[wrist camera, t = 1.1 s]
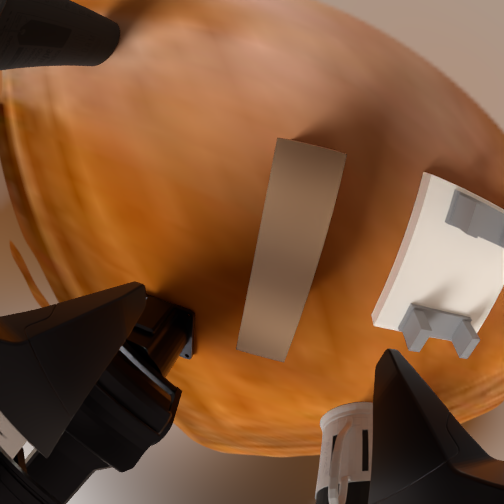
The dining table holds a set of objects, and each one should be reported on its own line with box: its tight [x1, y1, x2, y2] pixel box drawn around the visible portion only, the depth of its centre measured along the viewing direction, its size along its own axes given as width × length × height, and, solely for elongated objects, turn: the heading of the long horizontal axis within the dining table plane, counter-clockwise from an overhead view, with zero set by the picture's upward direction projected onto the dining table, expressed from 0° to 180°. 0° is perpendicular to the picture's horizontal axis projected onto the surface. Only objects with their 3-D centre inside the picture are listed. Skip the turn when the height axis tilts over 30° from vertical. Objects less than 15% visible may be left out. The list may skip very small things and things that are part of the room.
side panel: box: [371, 172, 504, 359], centre depth 15 cm, size 12×11×4 cm
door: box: [236, 138, 347, 362], centre depth 16 cm, size 12×3×7 cm, turn 170°
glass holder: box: [315, 402, 373, 504], centre depth 19 cm, size 9×14×15 cm, turn 25°
